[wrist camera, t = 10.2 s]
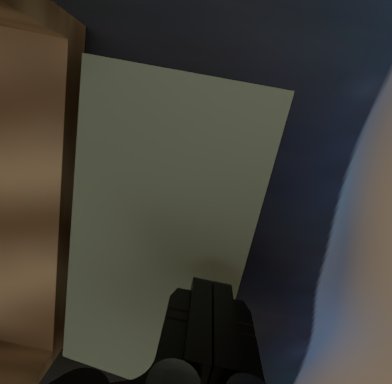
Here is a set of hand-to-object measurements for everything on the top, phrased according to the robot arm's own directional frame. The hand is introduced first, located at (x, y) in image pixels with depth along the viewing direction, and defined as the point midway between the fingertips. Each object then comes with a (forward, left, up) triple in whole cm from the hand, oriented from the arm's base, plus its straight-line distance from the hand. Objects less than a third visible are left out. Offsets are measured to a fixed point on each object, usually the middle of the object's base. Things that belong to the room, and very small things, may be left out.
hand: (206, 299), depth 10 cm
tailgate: (0, -7, -4) cm, 8 cm away
